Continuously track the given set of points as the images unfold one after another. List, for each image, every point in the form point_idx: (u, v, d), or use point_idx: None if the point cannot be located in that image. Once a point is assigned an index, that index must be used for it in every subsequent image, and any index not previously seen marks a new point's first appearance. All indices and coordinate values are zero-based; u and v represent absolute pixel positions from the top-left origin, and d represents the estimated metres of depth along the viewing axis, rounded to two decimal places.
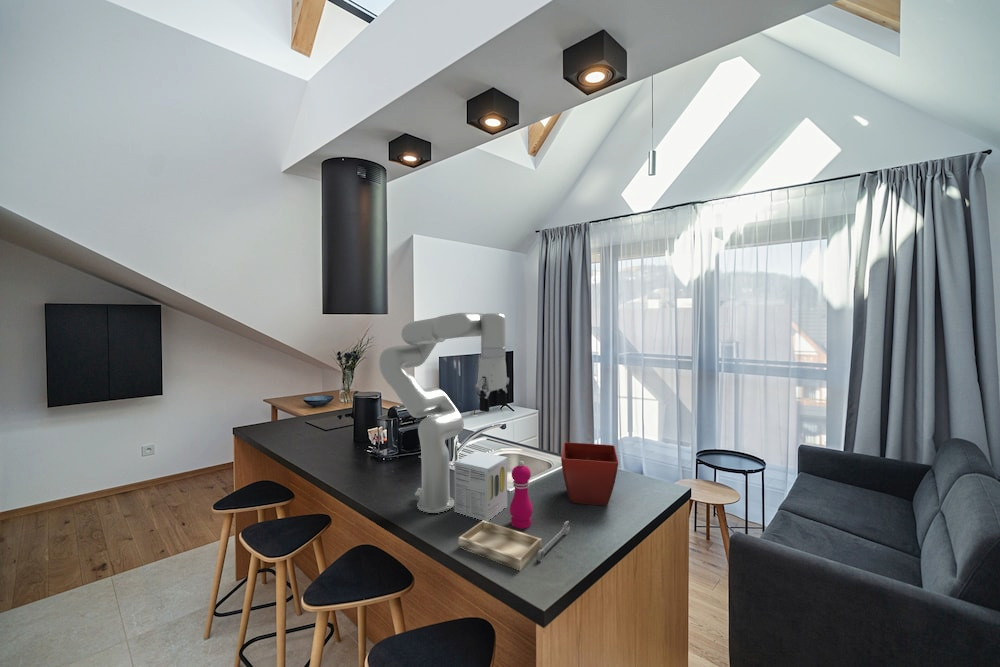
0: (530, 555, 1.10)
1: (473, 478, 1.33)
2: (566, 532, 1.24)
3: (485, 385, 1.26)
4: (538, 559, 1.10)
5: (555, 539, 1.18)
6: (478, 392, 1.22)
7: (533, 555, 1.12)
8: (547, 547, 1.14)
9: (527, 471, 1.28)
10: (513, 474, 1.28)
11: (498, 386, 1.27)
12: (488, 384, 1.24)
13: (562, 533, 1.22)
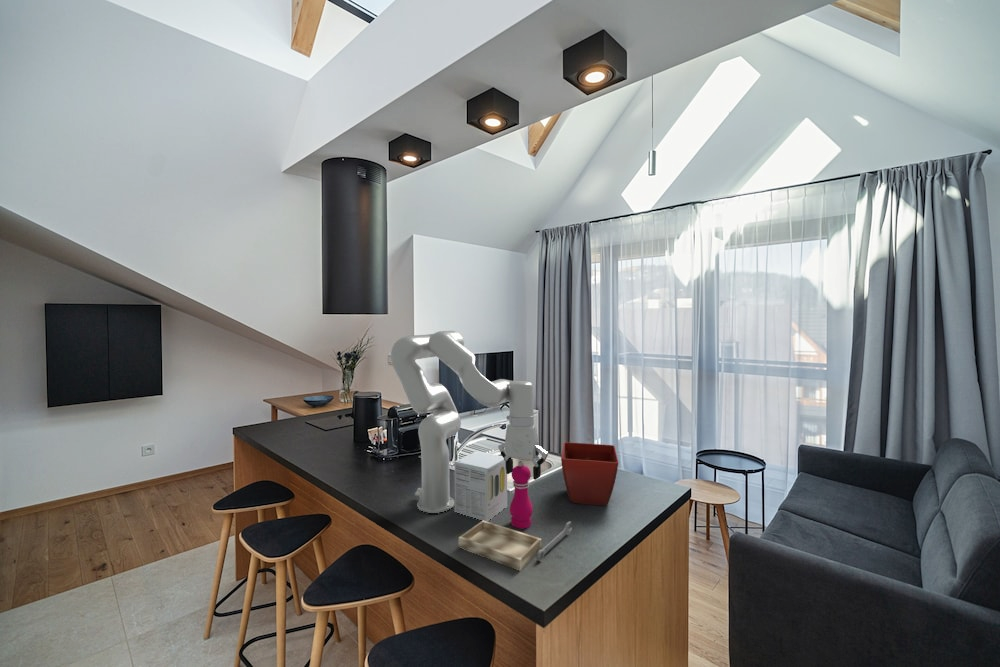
0: (530, 555, 1.10)
1: (473, 478, 1.33)
2: (568, 533, 1.24)
3: None
4: (538, 559, 1.10)
5: (556, 539, 1.18)
6: (544, 460, 1.25)
7: (533, 555, 1.12)
8: (548, 547, 1.14)
9: (527, 471, 1.28)
10: (513, 474, 1.28)
11: None
12: None
13: (564, 534, 1.21)
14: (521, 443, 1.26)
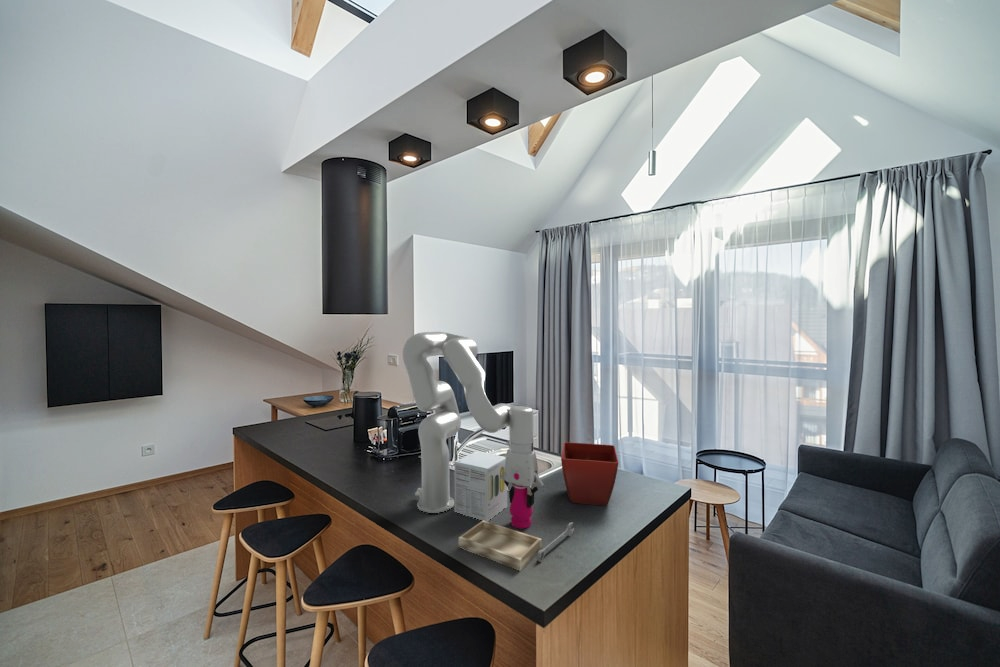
0: (530, 555, 1.10)
1: (473, 478, 1.33)
2: (570, 533, 1.23)
3: None
4: (538, 559, 1.10)
5: (557, 540, 1.18)
6: None
7: (533, 555, 1.12)
8: (548, 548, 1.14)
9: None
10: None
11: None
12: None
13: (565, 534, 1.21)
14: (520, 469, 1.27)
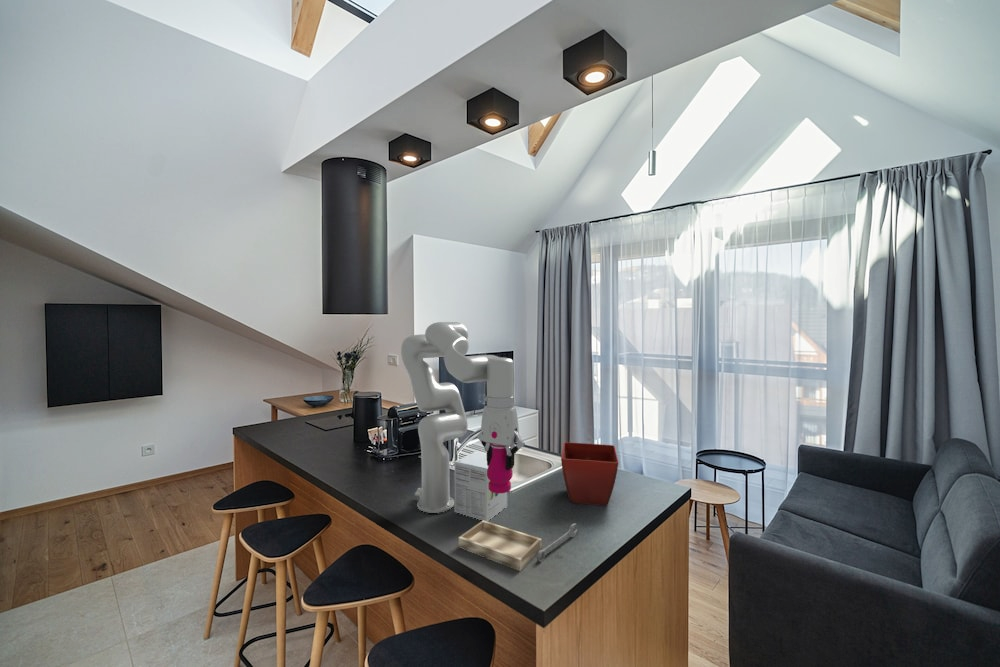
0: (530, 555, 1.10)
1: (473, 478, 1.33)
2: (573, 535, 1.22)
3: None
4: (538, 559, 1.10)
5: (559, 541, 1.17)
6: (518, 449, 1.12)
7: (533, 555, 1.12)
8: (549, 548, 1.14)
9: None
10: None
11: None
12: None
13: (568, 535, 1.21)
14: (499, 427, 1.12)
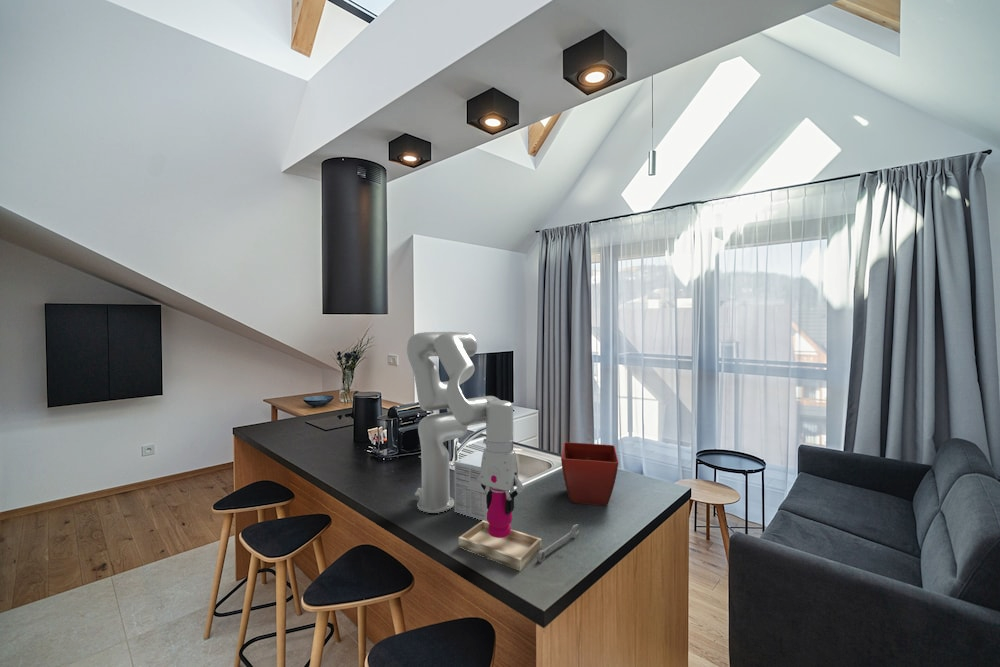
0: (530, 555, 1.10)
1: (473, 478, 1.33)
2: (574, 535, 1.22)
3: None
4: (538, 559, 1.10)
5: (560, 541, 1.17)
6: (517, 494, 1.12)
7: (533, 555, 1.12)
8: (550, 548, 1.13)
9: None
10: None
11: None
12: None
13: (569, 536, 1.20)
14: (498, 471, 1.12)
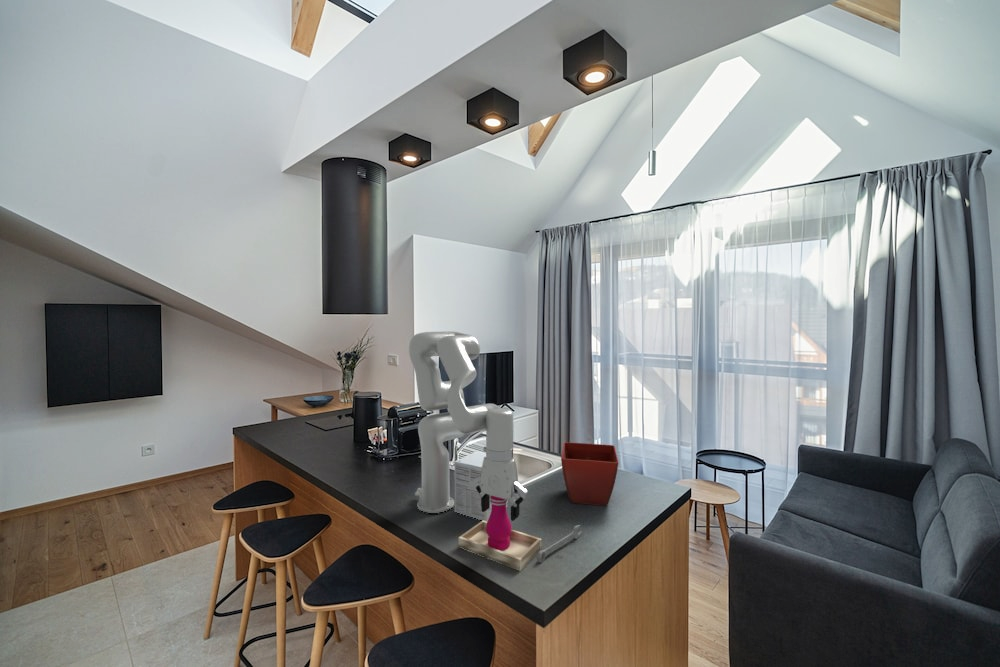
0: (530, 555, 1.10)
1: (473, 478, 1.33)
2: (576, 536, 1.22)
3: None
4: (538, 559, 1.10)
5: (561, 542, 1.17)
6: (523, 499, 1.11)
7: (533, 555, 1.12)
8: (550, 549, 1.13)
9: None
10: None
11: None
12: None
13: (571, 537, 1.20)
14: (498, 480, 1.12)
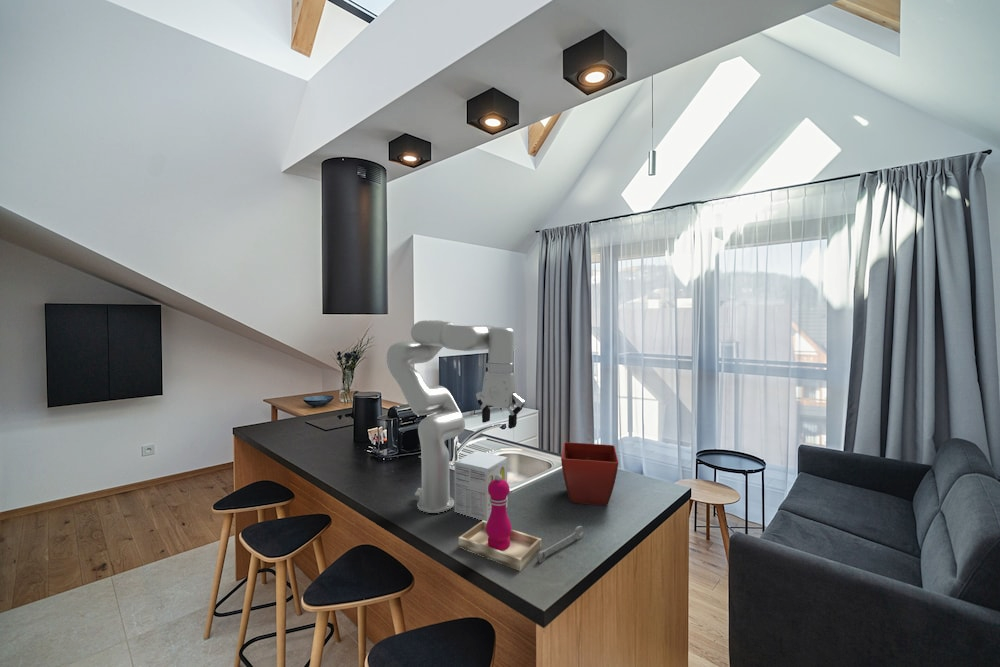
0: (530, 555, 1.10)
1: (473, 478, 1.33)
2: (578, 537, 1.21)
3: None
4: (538, 559, 1.10)
5: (562, 542, 1.16)
6: (520, 408, 1.20)
7: (533, 555, 1.12)
8: (551, 549, 1.13)
9: (505, 486, 1.14)
10: (489, 489, 1.14)
11: None
12: None
13: (572, 537, 1.19)
14: (498, 390, 1.22)
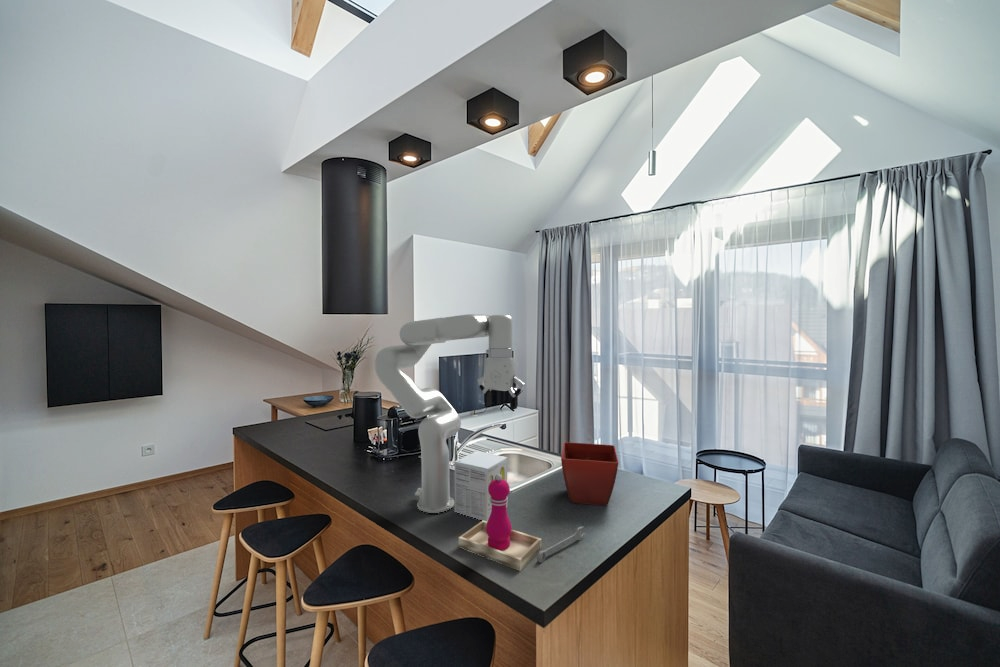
0: (530, 555, 1.10)
1: (473, 478, 1.33)
2: (579, 538, 1.21)
3: None
4: (538, 560, 1.10)
5: (563, 543, 1.16)
6: (521, 390, 1.28)
7: (533, 555, 1.12)
8: (551, 549, 1.13)
9: (505, 486, 1.14)
10: (489, 489, 1.15)
11: None
12: None
13: (573, 538, 1.19)
14: (499, 374, 1.29)
